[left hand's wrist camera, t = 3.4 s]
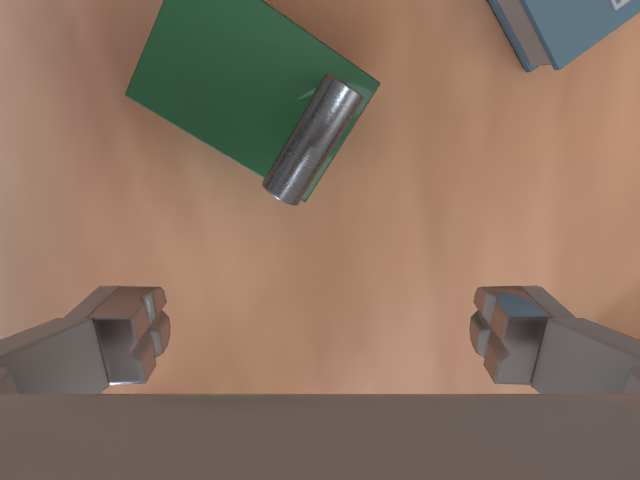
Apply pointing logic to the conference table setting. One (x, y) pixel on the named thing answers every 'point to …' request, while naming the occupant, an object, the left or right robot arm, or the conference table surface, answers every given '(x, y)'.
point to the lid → (252, 89)
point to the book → (559, 27)
